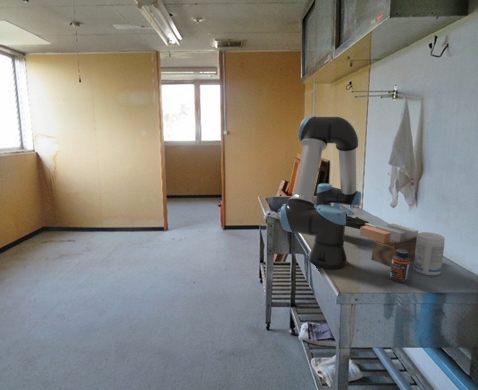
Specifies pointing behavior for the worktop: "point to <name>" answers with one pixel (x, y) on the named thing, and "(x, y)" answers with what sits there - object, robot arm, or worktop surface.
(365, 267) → the worktop surface
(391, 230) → the gray bar
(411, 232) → the off-white bar
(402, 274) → the supplement bottle
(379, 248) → the walnut key block
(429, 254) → the supplement tub
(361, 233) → the orange rectangular bar
